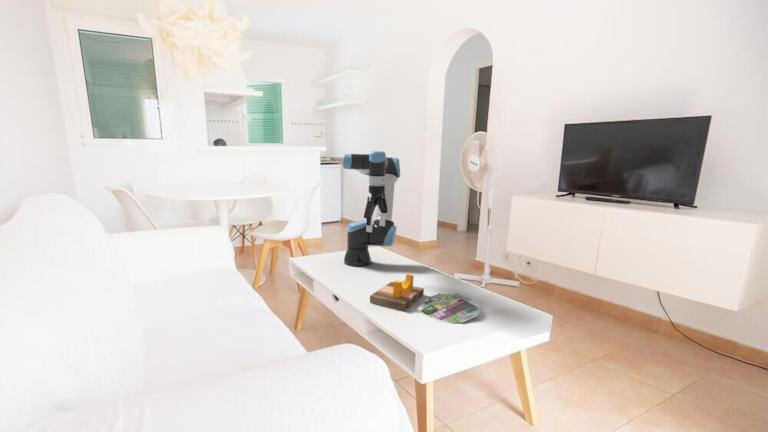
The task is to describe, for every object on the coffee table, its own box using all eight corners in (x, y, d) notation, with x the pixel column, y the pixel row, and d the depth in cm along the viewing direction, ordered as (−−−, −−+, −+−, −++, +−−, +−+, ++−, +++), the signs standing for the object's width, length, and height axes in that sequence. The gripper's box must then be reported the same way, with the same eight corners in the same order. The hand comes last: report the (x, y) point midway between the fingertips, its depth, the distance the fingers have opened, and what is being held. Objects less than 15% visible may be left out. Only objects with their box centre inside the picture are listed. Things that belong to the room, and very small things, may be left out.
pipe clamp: (404, 287, 165) (404, 273, 164) (412, 289, 162) (413, 275, 161) (389, 295, 155) (390, 280, 154) (398, 297, 153) (399, 282, 151)
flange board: (391, 287, 172) (391, 281, 172) (423, 294, 165) (423, 288, 165) (369, 302, 155) (370, 295, 154) (404, 311, 148) (405, 303, 147)
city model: (407, 316, 148) (406, 302, 147) (436, 293, 166) (436, 280, 165) (465, 337, 134) (465, 322, 132) (490, 309, 152) (490, 296, 150)
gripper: (371, 188, 161) (370, 235, 166) (395, 182, 183) (393, 224, 188) (356, 187, 165) (356, 233, 169) (381, 181, 187) (380, 222, 191)
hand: (375, 228), depth 179 cm, fingers open, 13 cm apart
